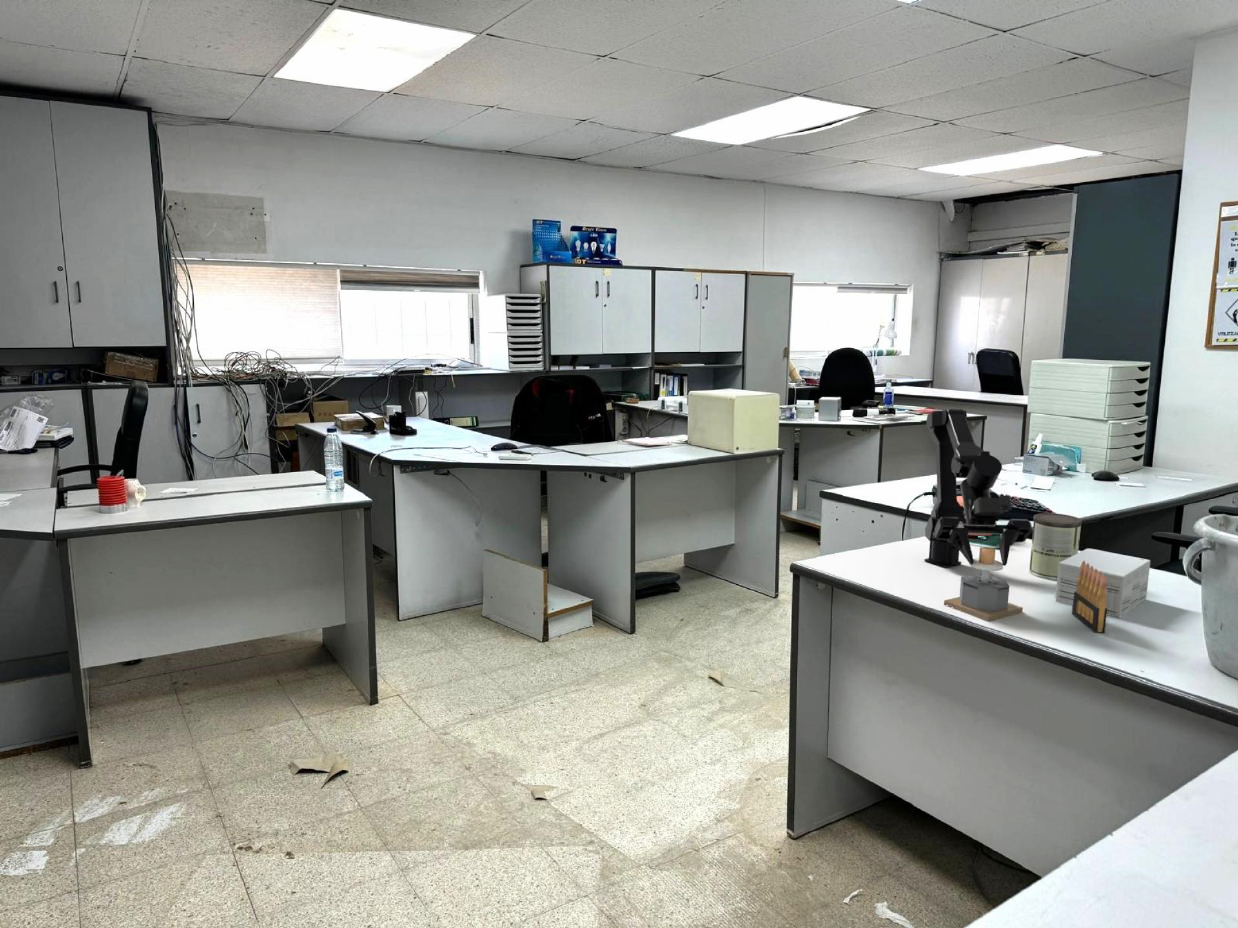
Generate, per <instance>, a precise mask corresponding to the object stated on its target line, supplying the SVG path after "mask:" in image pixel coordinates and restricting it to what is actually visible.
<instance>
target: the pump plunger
mask: <svg viewBox="0 0 1238 928" xmlns="http://www.w3.org/2000/svg"><path fill="white" fill-rule="evenodd" d="M978 556H979V557H978V558H973V564H972V565H971V564H970V563H969V565H970V567H971V568H973V569H976V570H980V571H981V575H982V579H981V583H986V584H988V582H989V576H990V572H991V571H992V572H996V571H997V572H999V571H1002V570H1003V569H1004V566H1003V563H1002V561H999V560H996V558H995V557H996V549H995V548H993V547H988V546H982V547H980V548H979V555H978Z"/></svg>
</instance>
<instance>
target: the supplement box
mask: <svg viewBox="0 0 1238 928" xmlns="http://www.w3.org/2000/svg"><path fill="white" fill-rule="evenodd" d="M1083 561H1085V564H1087V563H1088V564H1089V567H1091V566H1093V569H1094V570H1095V568H1096V569H1097V571H1098V573H1099V571H1101V573H1102V576H1103V574H1105V575H1106V579H1107V587H1106V588H1107V589H1106V593H1107V599H1106V608H1107V615H1108V616H1112V617H1116V618H1121V617H1123V616H1124V615H1125V614H1127V613H1128V612H1130V611H1131V610H1132V609H1134V608H1135V607H1137V606H1139V604H1141V603H1143V602H1145V600H1147V594H1148V587H1149V586H1148V585H1149V579H1150V578H1149V576H1150V567H1151V560H1150V559H1146V558H1141V557H1135V556H1132V555H1130V556H1129V555H1124V554H1120V553H1114V552H1110V551H1105V550H1100V549H1094V548H1088V547H1087V548H1085V549H1084V550H1082V551H1080V552H1079V551H1078V553H1077V554H1076V555H1074V556H1072V557H1070V558H1068V559H1066V560H1064V561H1062V562H1060V563H1059V566H1058V576H1057V580H1056V590H1055V600H1054V602H1056V603H1058V604H1063V605H1067V606H1071V607H1073V599H1074V592H1075V591H1076V588H1077V580H1078V577H1079V571H1080V566H1081V564H1082V562H1083Z"/></svg>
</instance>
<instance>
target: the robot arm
mask: <svg viewBox="0 0 1238 928" xmlns="http://www.w3.org/2000/svg"><path fill="white" fill-rule="evenodd" d="M967 418H968V413H967V410H966V409H963V408H947V409H943V410H940V409H939V410H938V409H937V410H936V409H935V410H932V411H931V412H930V413H929V414H927V417H926V428H927V429H928V436H929V438H930V439H931V440H932V442H933V443H934V445H935V448H936V449H935V455H936V456H935V457H936V491H937V493H936V496H937V500H936V501H937V502H936V503H935V505H934V507H933V508H932V509H931V512H930V517H929V519H928V520H927V523H926V525H925V528H924V530H925V532H924V533H925V534H924V537H925V538H926V539H927V540H928V541H929V548H928V549H929V550H928V551H929V553H928V558H924V560H923V561H924V562H926V563H929V564H930V563H931V564H933V565H936V566H938V567H942V568H947V567H951V566H952V567H953V566H957V565H962V561H960V559H959V557H960V553H961V554H962V555H963V557H964V558H965V559H966V561H967V562H968V563H969V565H970V564H971V565H972V564H973V559H974V554H973V551H972V547H971V543H970V540H969V539H970V538H969V535H968V533H981V534H992V535H1000V539H999V541H998V543H997V544H998V548H999V553H1000V559H1001V560H1000V561H1001V563H1003V567H1006V566H1007V564H1008V560H1009V554H1010V549H1011V546H1012V545H1014V544H1015V543H1024V542H1026V541H1027V539H1028V537H1029V536H1030V535H1031V533H1032V532H1033V525H1032V523H1031V522H1030V521H1029V519H1025V518H1024V519H1023V518H1010V519H1009V520H1008V522H1007V524H997V525H996V523H997V522H999V520H1000V515H1003V513H1004V512H1005V513H1006V512H1010V511H1011V510H1012V501H1011V497H1010V495H1000V496H999V497H991V493H990V489H991V488H993V487H994V485H995V484H996V482H997V480H998V478H999V476H1000V474H1001V472H1002V470H1003V464H1002V462H1001V461H1000V460H999V459H998V458H997V457H995V456H993V455H992V454H991V453H990V451H989V450H986V451H985V450H984V449H983V448H982V447H980V446H978V445H977V444H976V443H975V441H974V436H973V433H972V431H971V429H970V428H971V427H970V426H969V422H968V419H967ZM957 479H963V480H962V481H961V482H960V496H962V498H963V504H964V507H963V506H961V505H960V504H959V503H958V501H957V496H958V494H957V493H958V491H957V488H958V487H957ZM965 516H966V518H965ZM995 521H996V522H995Z"/></svg>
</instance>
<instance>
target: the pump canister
mask: <svg viewBox="0 0 1238 928" xmlns="http://www.w3.org/2000/svg"><path fill="white" fill-rule="evenodd" d="M981 579H982V574H981V575H980V574H969V575H963V576H960V587H959V596H957V597H953V598H949V599H945V600H943V605H944V606H946V605H948V606H947V607H948V608H951V607H953V608H952V609H955V610H957V609H958V610H957V611H959V610H961V611H960V612H961V613H965V614H968V615H970V616H973V617H975V618H978V619H981V620H984V621H986V622H990V621H993V620H997V619H1001V618H1004V617H1010V616H1012V615H1013V616H1014V615H1016V614H1020V613H1023V609H1024V608H1023V607H1022V606H1020V605H1017V604H1014V603H1011V602H1009V597H1010V596H1009V594H1010V585H1009V583H1008V581H1007V580H1006V579H1002V578H1000V577H999V578H998V577H996V576H993V575H989V582H988V584H986V583H981Z"/></svg>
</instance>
